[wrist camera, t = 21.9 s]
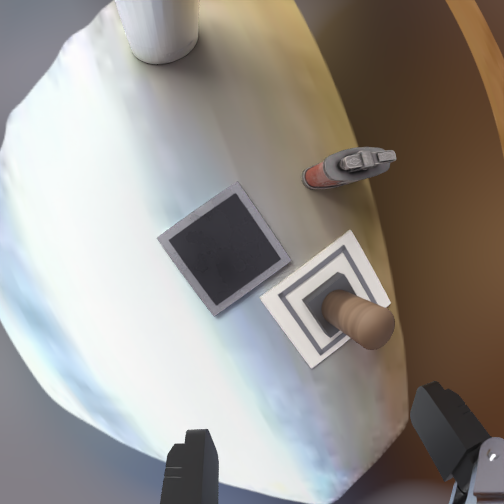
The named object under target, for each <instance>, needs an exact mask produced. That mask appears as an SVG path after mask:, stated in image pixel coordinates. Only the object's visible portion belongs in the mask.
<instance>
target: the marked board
mask: <svg viewBox="0 0 504 504" xmlns="http://www.w3.org/2000/svg"><path fill="white" fill-rule="evenodd" d="M337 272H339V273H342V274H345V276H346V278H347V279H348V281H349V283H350V284H351V286H352V288H353V290H354V291H355V293H356V295H357V296H359V297H361V298H363V299H366V300H368V301H371V302H373V303H375V304H378V305H380V306H382V307H385V308H386V307H387V306H388V305H390V304H391V302H390V300H389V298H388V296H387V294H386V292H385V291H384V289H383V287H382V285H381V283H380V281H379V279H378V277H377V275H376V274H375V272H374V270H373V268H372V266H371V264H370V263H369V261H368V259H367V257H366V255H365V254H364V252H363V250H362V248H361V247H360V245H359V243H358V241H357V240H356V238H355V236H354V234H353V233H352V231H351V230H348V231H347V232H346V233H344V234H343V235H342V236H340V237H339V238H338V239H337V240H335V241H334V242H333V243H331V244H330V245H329V246H328V247H326V248H325V249H324V250H322V251H321V252H320V253H318V254H317V255H316V256H314V257H313V258H312V259H310V260H309V261H308V262H306V263H305V264H304V265H302V266H301V267H300V268H298V269H297V270H296V271H294V272H293V273H292V274H290V275H289V276H288V277H286V278H285V279H284V280H282V281H281V282H280V283H278V284H277V285H276V286H274V287H273V288H271V289H270V290H269V291H267V292H266V293H265V294H263V295H262V296H260V297H259V298H260V299H261V301H262V302H263V303H264V305H265V306H266V308H267V309H268V310H269V312H270V313H271V314H272V316H273V317H274V319H275V320H276V321H277V323H278V324H279V325H280V327H281V328H282V330H283V331H284V332H285V334H286V335H287V336H288V338H289V339H290V340H291V342H292V343H293V345H294V346H295V347H296V349H297V350H298V351H299V353H300V354H301V355H302V357H303V358H304V359H305V361H306V362H307V363H308V365H309V366H310V367H311V369H312V368H313V367H314V366H316V365H317V364H318V363H320V362H321V361H322V360H324V359H325V358H326V357H328V356H329V355H330V354H331V353H333V352H334V351H335V350H337V349H338V348H339V347H340V346H342V345H343V344H344V343H345V342H347V341H348V340H349V339H350V337H349V336H347V335H346V334H344V333H343V332H342V331H339V332H338V333H336V334H335V335H334V336H333V337H331V338H330V337H328V336H327V335H326V334H325V333H324V332H323V330H322V329H321V327H320V326H319V324H318V323H317V321H316V320H315V318H314V317H313V316H312V314H311V313H310V311H309V310H308V308H307V307H306V305H305V304H304V302H303V301H302V299H303V298H304V297H306V296H307V295H308V294H310V293H311V292H312V291H314V290H315V289H316V288H317V287H319V286H320V285H321V284H323V283H324V282H325V281H326V280H328V279H329V278H330V277H331V276H333V275H334V274H335V273H337Z"/></svg>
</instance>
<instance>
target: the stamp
mask: <svg viewBox="0 0 504 504" xmlns="http://www.w3.org/2000/svg"><path fill="white" fill-rule="evenodd" d="M302 301H303V302H304V304H305V305H306V307H307V308H308V310H309V311H310V313H311V314H312V316H313V317H314V318H315V320H316V321H317V323H318V324H319V326H320V327H321V329H322V330H323V332H324V333H325V334H326V335H327V336H328V337H330V338H331V337H333V336H334V335H335V334H336V333H338V332H339V331H342V332H343V333H344V334H346V335H347V336H349V337H350V338H351V339H353V340H354V341H356V342H357V343H358V344H360V345H361V346H363V347H364V348H366V349H369V350H375V349H378V348H380V347H382V346H384V345H385V344H386V343H387V342H388V341H389V339H390V338H391V336H392V334H393V331H394V327H395V320H394V316H393V314H392V312H391V311H390V310H389V309H387V308H385V307H382V306H380V305H378V304H375V303H373V302H371V301H368V300H366V299H363V298H361V297H359V296H357V295H356V293H355V291H354V290H353V288H352V286H351V284H350V283H349V281H348V279H347V278H346V276H345V274H342V273H339V272H337V273H335V274H334V275H333V276H331V277H330V278H329V279H328V280H326V281H325V282H324V283H323V284H321V285H320V286H319V287H317V288H316V289H315V290H314V291H312V292H311V293H310V294H308V295H307V296H306V297H304V298H303V299H302Z"/></svg>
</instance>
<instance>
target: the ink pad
mask: <svg viewBox="0 0 504 504" xmlns="http://www.w3.org/2000/svg"><path fill="white" fill-rule="evenodd" d="M157 239H158V241H159V242H160V243H161V245H162V246H163V248H164V249H165V251H166V252H167V253H168V255H169V256H170V258H171V259H172V260H173V262H174V263H175V265H176V266H177V267H178V269H179V270H180V272H181V273H182V274H183V276H184V277H185V278H186V280H187V281H188V283H189V284H190V285H191V287H192V288H193V289H194V291H195V292H196V293H197V295H198V296H199V297H200V299H201V300H202V301H203V303H204V304H205V305H206V307H207V308H208V309H209V310H210V312H211V313H212V314H213V316H216V315H217V314H218V313H220V312H221V311H223V310H224V309H225V308H227V307H228V306H230V305H231V304H233V303H234V302H235V301H237V300H238V299H240V298H241V297H242V296H244V295H245V294H246V293H248V292H249V291H251V290H252V289H253V288H255V287H256V286H258V285H259V284H260V283H262V282H263V281H264V280H266V279H267V278H269V277H270V276H271V275H273V274H274V273H275V272H277V271H278V270H280V269H281V268H282V267H284V266H285V265H286V264H288V263H289V262H290V261H291V259H290V258H289V256H288V255H287V253H286V252H285V250H284V249H283V247H282V246H281V244H280V243H279V241H278V240H277V238H276V237H275V235H274V234H273V232H272V231H271V229H270V228H269V226H268V225H267V223H266V222H265V221H264V219H263V218H262V216H261V215H260V213H259V212H258V210H257V209H256V207H255V206H254V204H253V203H252V202H251V200H250V199H249V197H248V196H247V194H246V193H245V191H244V190H243V189H242V187H241V186H240V184H239V183H238V181H237V182H236V183H234V184H233V185H231V186H230V187H228V188H227V189H225V190H224V191H222V192H221V193H219V194H218V195H216V196H215V197H213V198H212V199H210V200H209V201H208V202H206V203H205V204H203V205H202V206H200V207H199V208H198V209H196V210H195V211H193V212H192V213H190V214H189V215H188V216H186V217H185V218H183V219H182V220H181V221H179V222H178V223H176V224H175V225H174V226H172V227H171V228H170V229H168V230H167V231H165V232H164V233H163V234H161V235H160V236H159V237H157Z"/></svg>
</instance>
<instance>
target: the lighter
mask: <svg viewBox="0 0 504 504" xmlns="http://www.w3.org/2000/svg"><path fill="white" fill-rule="evenodd" d="M395 160H396V155H395V152H394V151H393V150H388V151H384V150H383V149H381V148H373V147H357V148H351V149H347V150H343V151H340V152H337V153H335V154H332V155H330V156H328V157H327V158H325V160H324V161H323V162H321V163H318V164H316V165H313V166H311V167H309V168H307V169H305V170H304V171H303V173H302V176H301V177H302V182H303V184H304V185H305V187H307V188H308V189H329V188H335V187H339V186H342V185H346V184H349V183H352V182H356V181H359V180H363V179H366V178H370V177H373V176H376V175H379V174H381V173H383V172H385V171H387V170H388V169H389V167H390V162H393V161H395Z"/></svg>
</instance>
